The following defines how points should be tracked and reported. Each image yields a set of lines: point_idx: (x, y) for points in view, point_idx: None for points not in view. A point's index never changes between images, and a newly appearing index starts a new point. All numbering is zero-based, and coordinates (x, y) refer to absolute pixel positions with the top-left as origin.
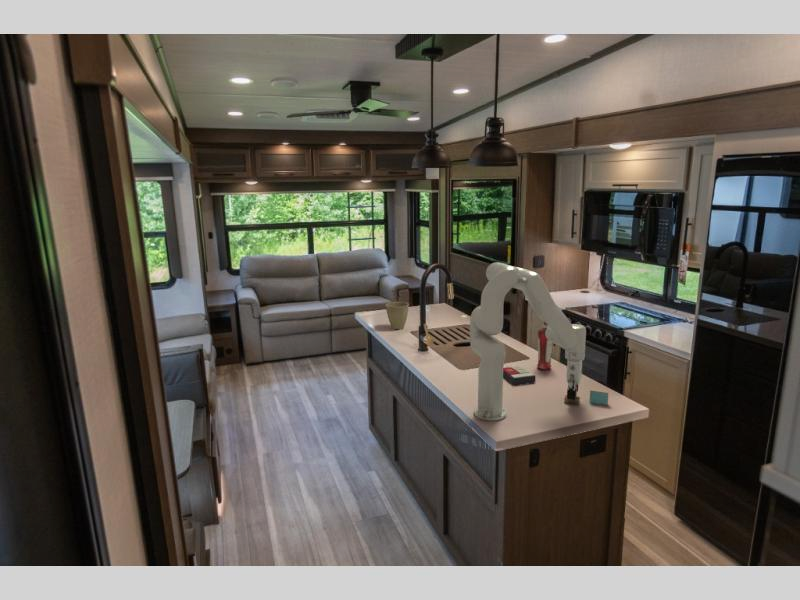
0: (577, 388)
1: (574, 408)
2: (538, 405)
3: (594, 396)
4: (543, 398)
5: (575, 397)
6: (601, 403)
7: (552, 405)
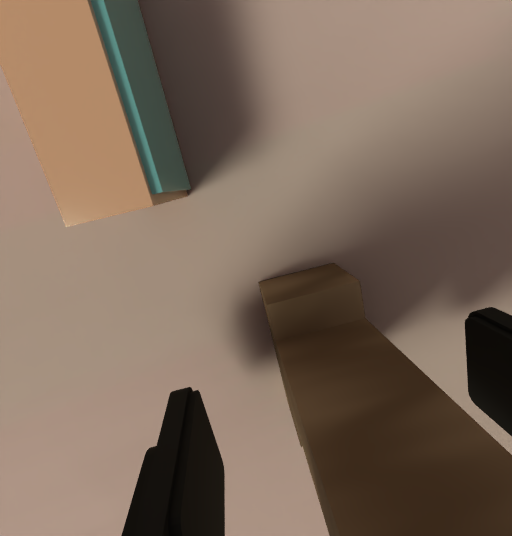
0: (192, 425)
1: (425, 266)
2: None
3: (158, 122)
4: None
5: (377, 331)
6: (147, 36)
7: None
